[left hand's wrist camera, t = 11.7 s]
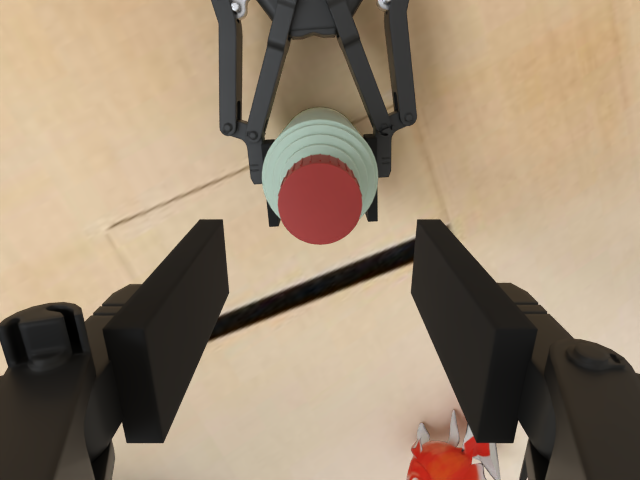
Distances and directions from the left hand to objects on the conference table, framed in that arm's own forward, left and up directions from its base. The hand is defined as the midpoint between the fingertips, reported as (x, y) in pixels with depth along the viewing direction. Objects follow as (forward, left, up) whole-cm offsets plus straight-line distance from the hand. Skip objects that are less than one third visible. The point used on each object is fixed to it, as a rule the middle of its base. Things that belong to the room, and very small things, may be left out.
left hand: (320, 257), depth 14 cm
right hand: (-5, -1, -20) cm, 20 cm away
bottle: (0, 0, -26) cm, 26 cm away
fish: (-28, -23, -26) cm, 45 cm away
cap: (0, 0, -7) cm, 7 cm away
